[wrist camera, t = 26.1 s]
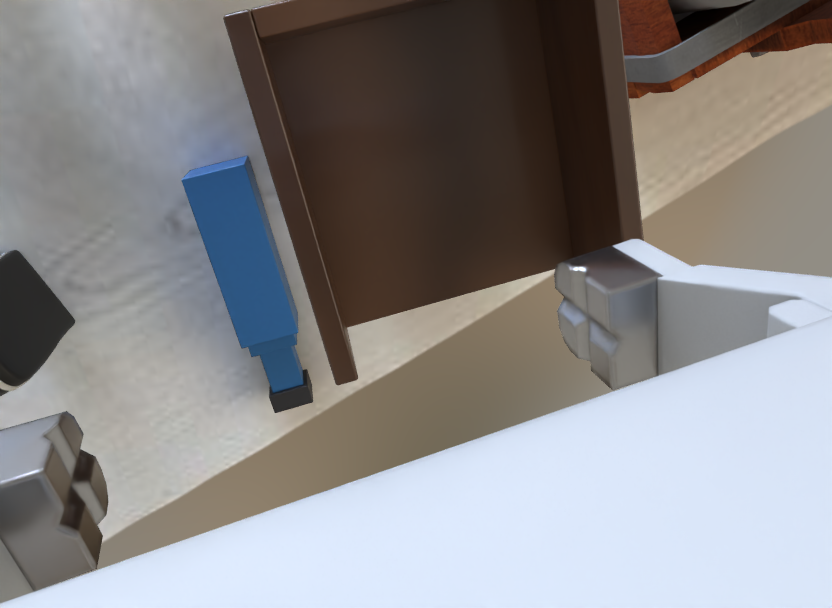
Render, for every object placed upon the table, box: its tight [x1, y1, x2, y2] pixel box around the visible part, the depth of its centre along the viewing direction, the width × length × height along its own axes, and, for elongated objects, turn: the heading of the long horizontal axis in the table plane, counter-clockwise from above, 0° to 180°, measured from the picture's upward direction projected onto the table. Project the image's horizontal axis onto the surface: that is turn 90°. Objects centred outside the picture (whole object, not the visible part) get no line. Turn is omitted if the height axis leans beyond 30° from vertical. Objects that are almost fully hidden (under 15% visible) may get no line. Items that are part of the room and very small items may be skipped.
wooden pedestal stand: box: [223, 0, 644, 385], centre depth 35 cm, size 12×12×29 cm
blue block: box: [182, 156, 313, 413], centre depth 49 cm, size 4×18×4 cm, turn 14°
